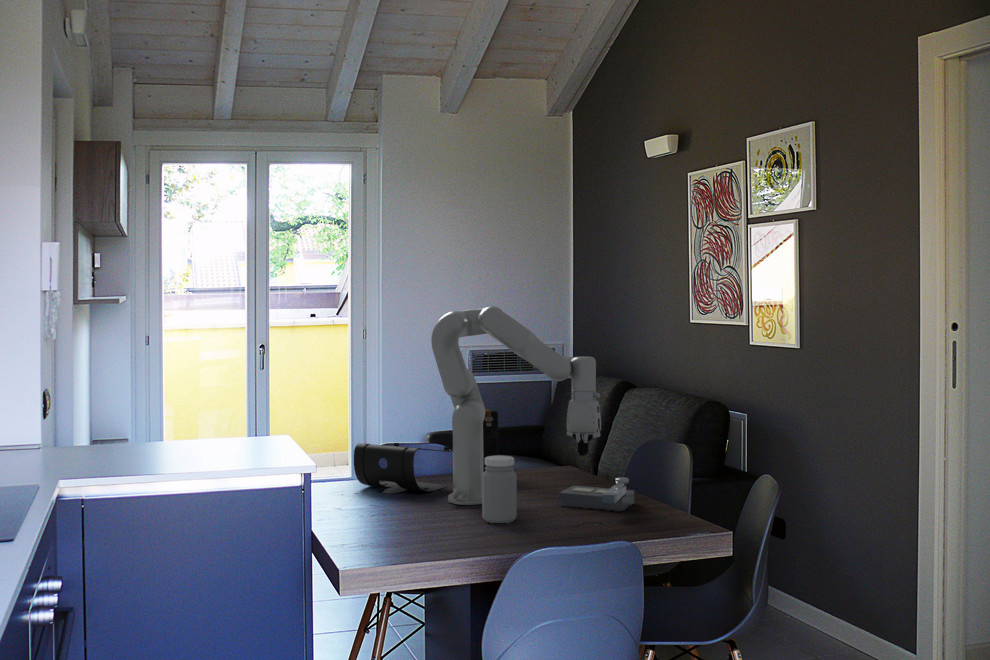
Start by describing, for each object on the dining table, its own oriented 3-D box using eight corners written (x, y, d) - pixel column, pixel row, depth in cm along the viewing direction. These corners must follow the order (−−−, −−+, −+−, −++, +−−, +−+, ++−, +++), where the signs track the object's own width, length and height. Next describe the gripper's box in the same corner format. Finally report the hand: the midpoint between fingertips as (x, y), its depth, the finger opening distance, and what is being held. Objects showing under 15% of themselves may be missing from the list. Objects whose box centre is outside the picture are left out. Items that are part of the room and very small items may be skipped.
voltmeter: (461, 474, 330) (461, 406, 330) (482, 473, 334) (482, 406, 333) (478, 482, 316) (478, 411, 315) (500, 480, 319) (500, 409, 319)
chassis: (621, 511, 268) (622, 488, 268) (559, 505, 276) (559, 482, 276) (634, 503, 279) (634, 481, 279) (573, 497, 288) (573, 476, 288)
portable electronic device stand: (351, 490, 299) (351, 444, 299) (391, 479, 320) (391, 436, 320) (415, 498, 288) (415, 449, 287) (453, 485, 308) (453, 440, 308)
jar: (522, 519, 257) (522, 456, 257) (505, 526, 249) (505, 461, 248) (493, 515, 262) (493, 454, 262) (475, 522, 254) (475, 458, 253)
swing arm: (629, 490, 275) (629, 477, 275) (615, 503, 256) (615, 489, 256) (616, 489, 277) (616, 477, 277) (601, 502, 258) (601, 488, 258)
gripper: (610, 396, 279) (610, 455, 280) (565, 394, 286) (565, 452, 286) (602, 398, 272) (602, 458, 273) (556, 396, 279) (556, 455, 279)
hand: (583, 455), depth 279 cm, fingers closed
